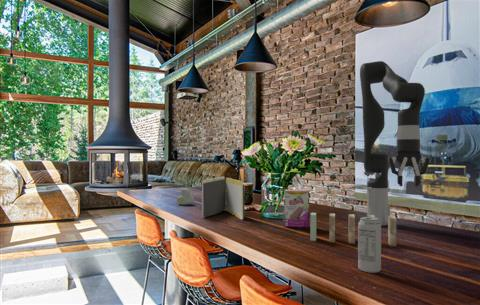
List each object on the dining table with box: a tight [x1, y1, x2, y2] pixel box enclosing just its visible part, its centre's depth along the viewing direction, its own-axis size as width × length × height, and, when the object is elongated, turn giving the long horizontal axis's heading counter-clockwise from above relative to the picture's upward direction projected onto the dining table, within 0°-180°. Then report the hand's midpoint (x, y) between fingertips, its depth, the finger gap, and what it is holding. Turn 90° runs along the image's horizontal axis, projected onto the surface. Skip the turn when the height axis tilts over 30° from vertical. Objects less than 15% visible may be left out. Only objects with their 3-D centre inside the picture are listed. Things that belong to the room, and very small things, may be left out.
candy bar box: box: [283, 189, 310, 229], centre depth 164 cm, size 11×5×16 cm, turn 84°
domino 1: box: [309, 212, 317, 242], centre depth 139 cm, size 2×5×10 cm, turn 166°
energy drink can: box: [357, 216, 382, 274], centre depth 102 cm, size 6×6×15 cm
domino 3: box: [348, 213, 356, 245], centre depth 136 cm, size 2×5×10 cm, turn 166°
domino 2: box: [328, 212, 336, 243], centre depth 137 cm, size 2×5×10 cm, turn 166°
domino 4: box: [387, 215, 397, 247], centre depth 132 cm, size 2×5×10 cm, turn 166°
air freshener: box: [176, 188, 195, 206], centre depth 234 cm, size 11×8×10 cm
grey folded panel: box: [201, 176, 246, 220], centre depth 194 cm, size 35×22×20 cm, turn 19°
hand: (408, 185), depth 131 cm, fingers open, 4 cm apart
